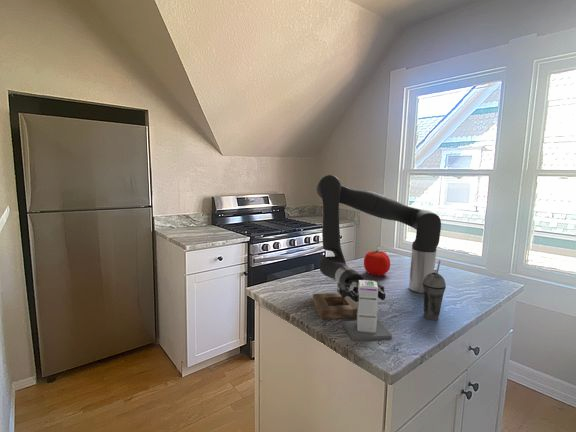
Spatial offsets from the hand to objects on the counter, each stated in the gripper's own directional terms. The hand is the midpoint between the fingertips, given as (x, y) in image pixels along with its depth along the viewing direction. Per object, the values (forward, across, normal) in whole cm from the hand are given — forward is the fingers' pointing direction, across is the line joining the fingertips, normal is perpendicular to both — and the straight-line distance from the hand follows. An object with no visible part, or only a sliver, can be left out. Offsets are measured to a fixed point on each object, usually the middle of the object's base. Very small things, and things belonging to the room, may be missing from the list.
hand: (370, 298), depth 95 cm
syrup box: (-2, 0, +11) cm, 11 cm away
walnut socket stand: (-18, -4, +12) cm, 22 cm away
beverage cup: (-6, +26, +12) cm, 30 cm away
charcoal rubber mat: (-2, 0, +12) cm, 12 cm away
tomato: (-50, +29, +12) cm, 59 cm away
